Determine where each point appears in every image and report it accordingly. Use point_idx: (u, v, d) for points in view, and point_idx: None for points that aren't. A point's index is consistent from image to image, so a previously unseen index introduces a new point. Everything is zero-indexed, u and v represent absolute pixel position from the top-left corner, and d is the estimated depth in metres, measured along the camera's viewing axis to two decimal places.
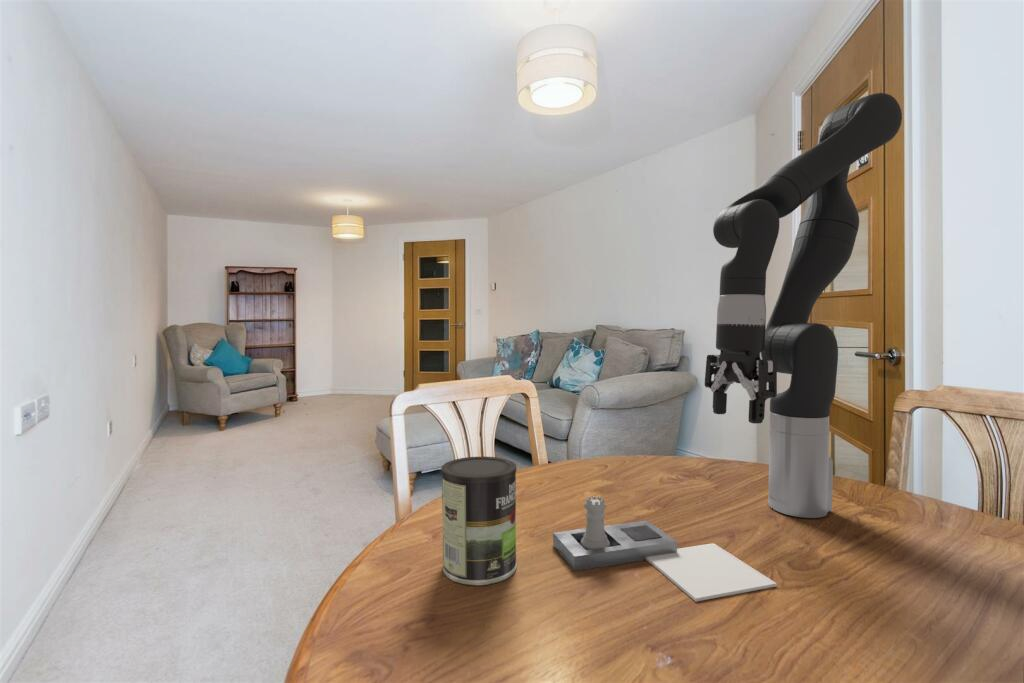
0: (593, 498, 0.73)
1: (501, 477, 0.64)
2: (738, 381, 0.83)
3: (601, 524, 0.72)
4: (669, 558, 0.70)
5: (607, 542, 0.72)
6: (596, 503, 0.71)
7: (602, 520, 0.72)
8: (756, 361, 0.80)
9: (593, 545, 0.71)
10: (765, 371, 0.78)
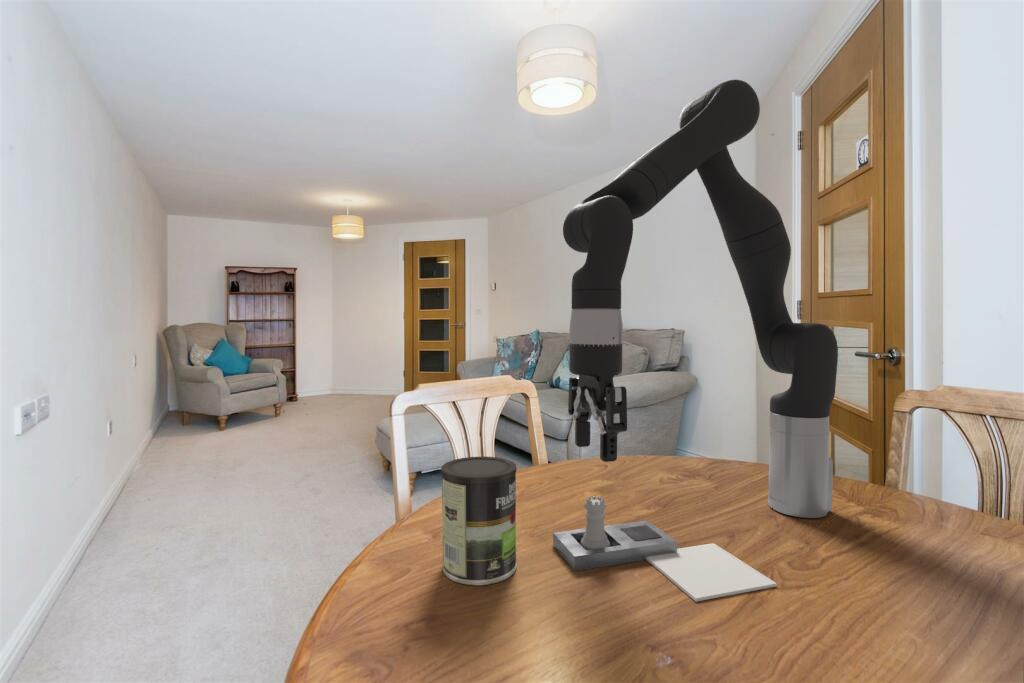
0: (593, 498, 0.73)
1: (501, 477, 0.64)
2: None
3: (601, 524, 0.72)
4: (669, 558, 0.70)
5: (607, 542, 0.72)
6: (596, 503, 0.71)
7: (602, 520, 0.72)
8: (606, 388, 0.67)
9: (593, 545, 0.71)
10: (611, 401, 0.65)
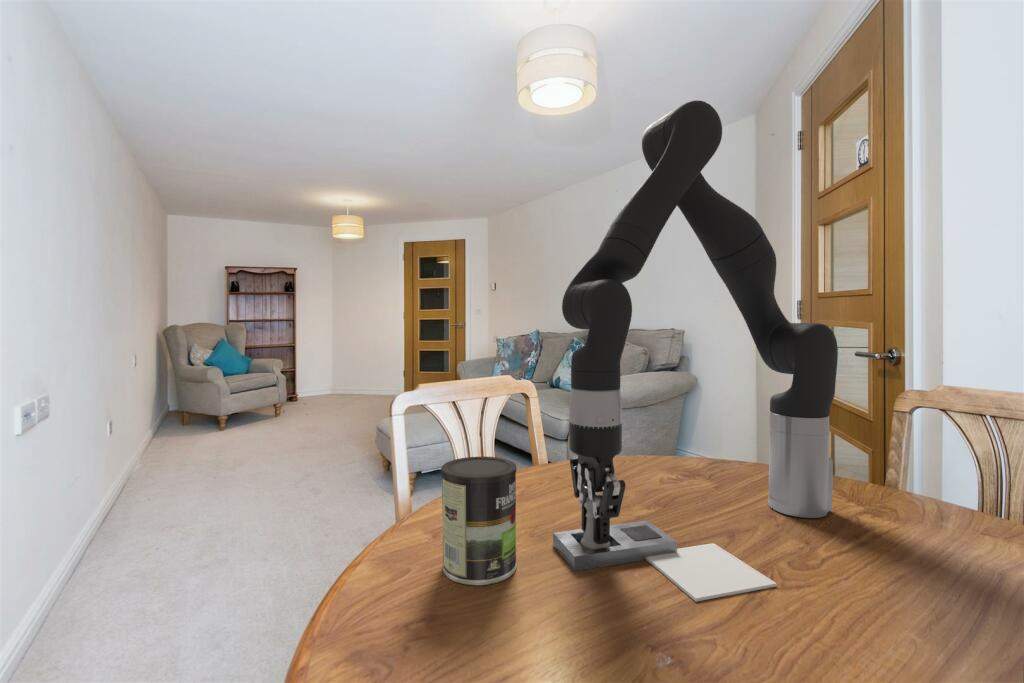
0: None
1: (501, 477, 0.64)
2: None
3: None
4: (669, 558, 0.70)
5: None
6: None
7: None
8: (606, 475, 0.68)
9: (593, 544, 0.71)
10: (609, 496, 0.66)
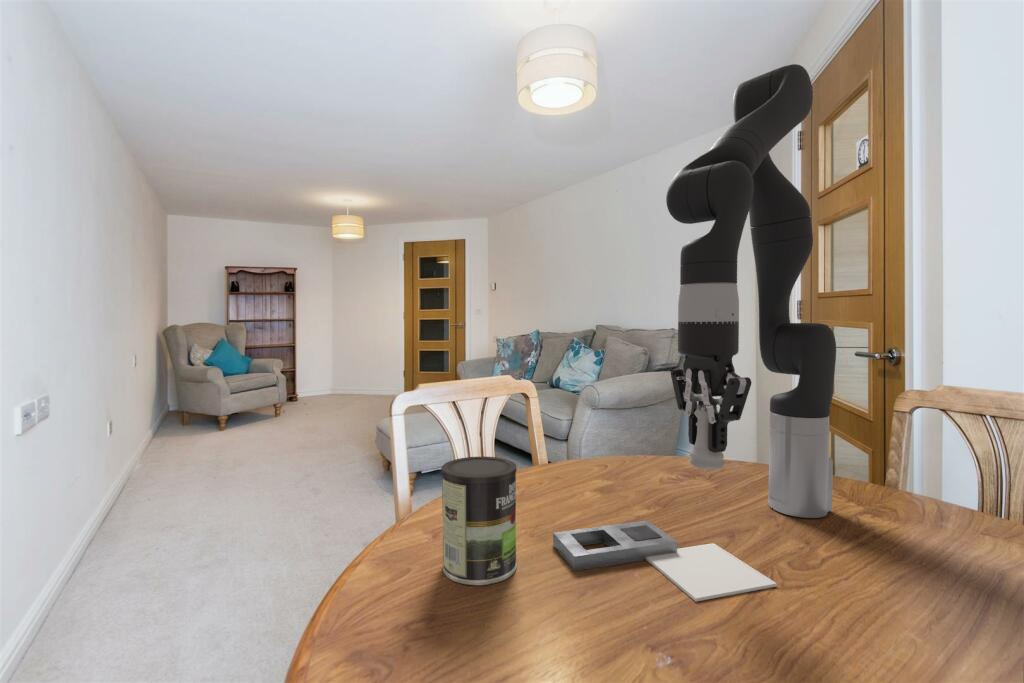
0: (703, 407, 0.68)
1: (501, 477, 0.64)
2: (701, 391, 0.66)
3: None
4: (669, 558, 0.70)
5: (721, 452, 0.66)
6: None
7: None
8: (727, 373, 0.62)
9: (707, 454, 0.65)
10: (733, 394, 0.60)
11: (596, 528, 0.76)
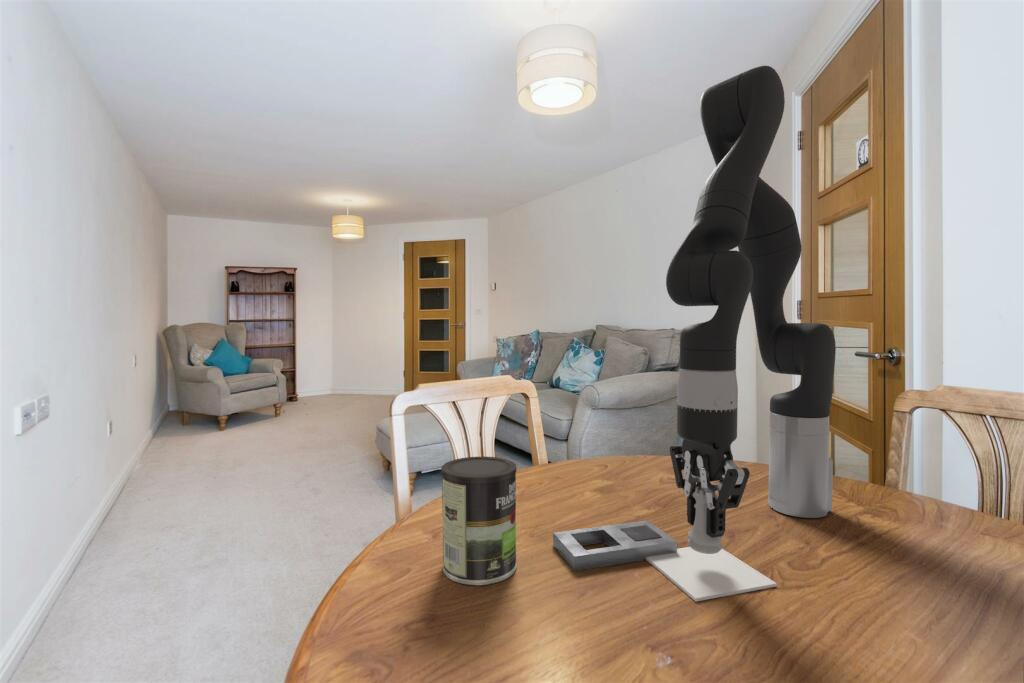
0: (701, 488, 0.68)
1: (501, 477, 0.64)
2: (700, 474, 0.67)
3: None
4: (669, 558, 0.70)
5: None
6: None
7: None
8: (726, 462, 0.62)
9: (705, 538, 0.66)
10: (731, 485, 0.61)
11: (596, 528, 0.76)
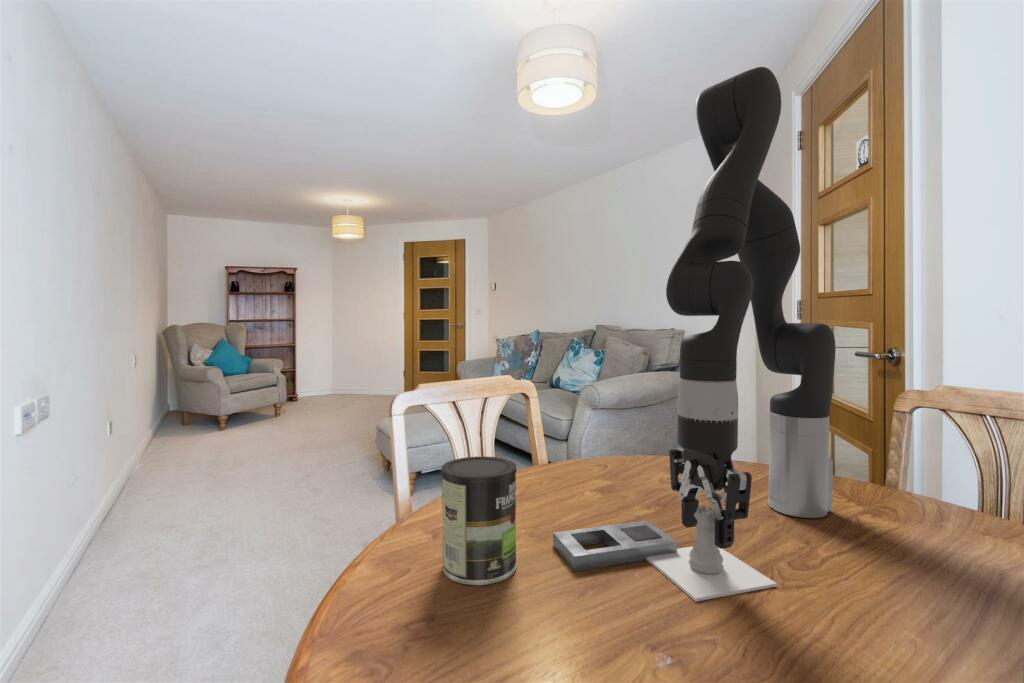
0: (703, 508, 0.68)
1: (501, 477, 0.64)
2: (703, 487, 0.66)
3: (714, 537, 0.66)
4: (669, 558, 0.70)
5: (720, 556, 0.66)
6: (710, 514, 0.66)
7: None
8: (726, 470, 0.62)
9: (706, 559, 0.66)
10: (735, 490, 0.60)
11: (596, 528, 0.76)
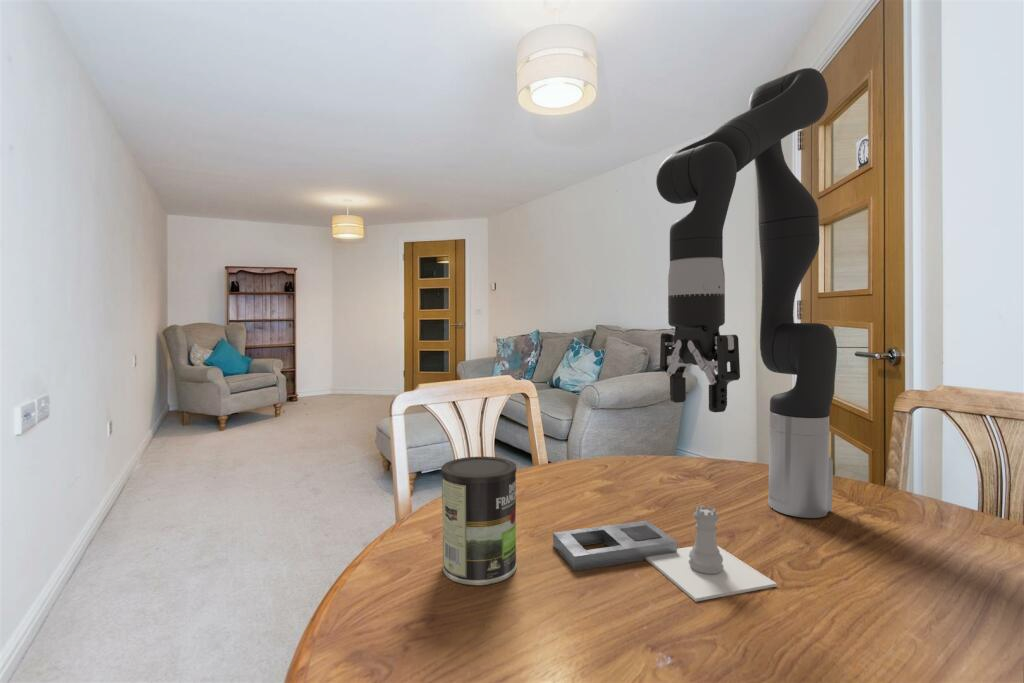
0: (702, 508, 0.68)
1: (501, 477, 0.64)
2: (695, 362, 0.69)
3: (714, 536, 0.66)
4: (669, 558, 0.70)
5: (720, 556, 0.66)
6: (709, 514, 0.66)
7: (714, 532, 0.66)
8: (714, 337, 0.66)
9: (706, 559, 0.66)
10: (725, 349, 0.64)
11: (596, 528, 0.76)
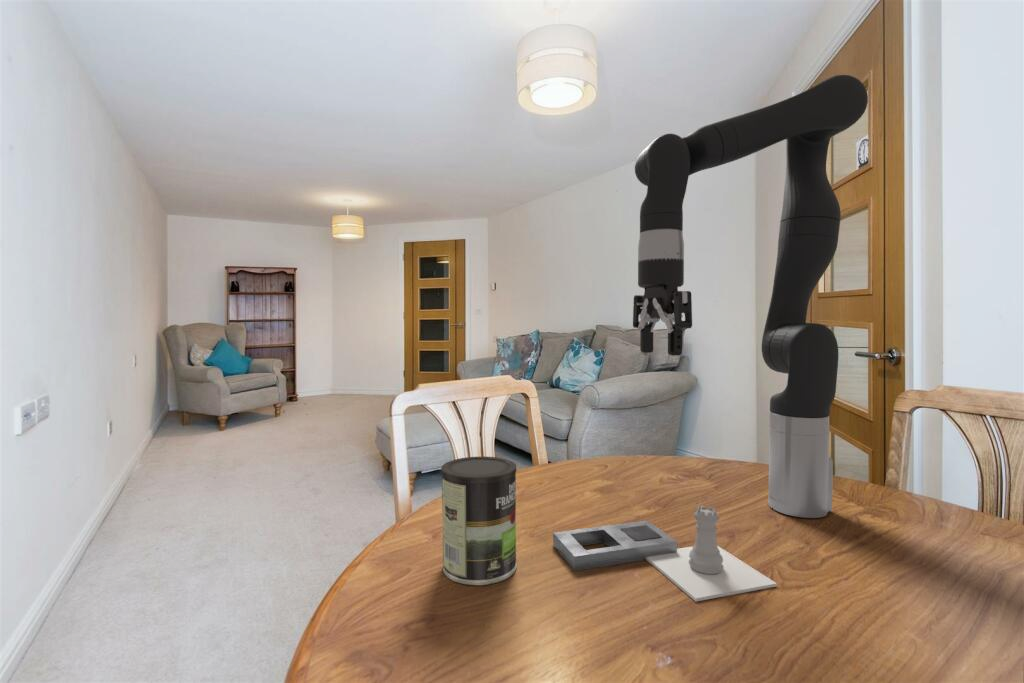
0: (702, 508, 0.68)
1: (501, 477, 0.64)
2: (659, 316, 0.84)
3: (714, 536, 0.66)
4: (669, 558, 0.70)
5: (720, 556, 0.66)
6: (709, 514, 0.66)
7: (715, 532, 0.66)
8: (673, 294, 0.81)
9: (706, 559, 0.66)
10: (679, 302, 0.79)
11: (596, 528, 0.76)
